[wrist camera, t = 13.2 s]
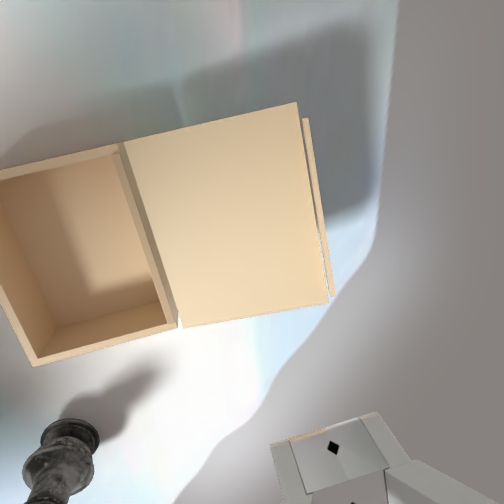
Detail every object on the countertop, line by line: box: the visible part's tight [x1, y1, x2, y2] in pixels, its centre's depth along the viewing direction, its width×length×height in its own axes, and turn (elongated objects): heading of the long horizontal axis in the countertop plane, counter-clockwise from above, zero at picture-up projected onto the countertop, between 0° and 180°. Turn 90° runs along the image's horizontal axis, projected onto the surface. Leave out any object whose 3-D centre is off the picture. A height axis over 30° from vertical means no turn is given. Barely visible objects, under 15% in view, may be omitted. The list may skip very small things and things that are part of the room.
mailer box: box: [0, 142, 178, 367], centre depth 28 cm, size 14×11×5 cm
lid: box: [124, 102, 335, 328], centre depth 25 cm, size 14×12×1 cm
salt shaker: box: [22, 419, 99, 504], centre depth 30 cm, size 6×6×12 cm
